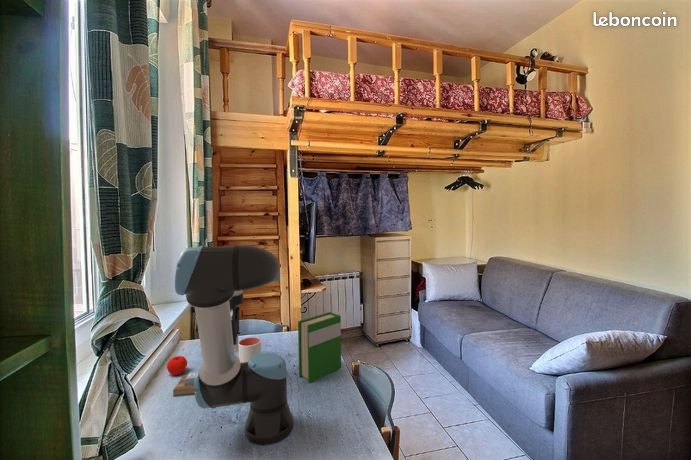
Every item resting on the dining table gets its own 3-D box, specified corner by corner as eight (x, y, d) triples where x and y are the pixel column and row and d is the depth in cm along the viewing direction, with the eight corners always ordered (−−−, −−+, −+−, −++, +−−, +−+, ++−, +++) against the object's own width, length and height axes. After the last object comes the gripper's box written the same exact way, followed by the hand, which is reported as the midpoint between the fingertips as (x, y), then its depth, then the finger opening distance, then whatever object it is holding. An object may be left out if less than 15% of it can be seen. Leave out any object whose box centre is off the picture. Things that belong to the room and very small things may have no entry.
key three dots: (199, 387, 123) (198, 377, 123) (185, 388, 123) (185, 378, 122) (203, 380, 128) (202, 370, 128) (190, 381, 128) (189, 371, 127)
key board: (249, 389, 123) (248, 383, 123) (173, 396, 119) (173, 390, 119) (253, 375, 134) (252, 369, 134) (183, 381, 130) (183, 375, 130)
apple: (181, 367, 142) (180, 351, 142) (191, 371, 138) (191, 355, 138) (163, 375, 135) (162, 358, 135) (173, 380, 131) (173, 362, 131)
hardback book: (309, 383, 127) (308, 325, 126) (299, 376, 133) (298, 321, 132) (341, 368, 140) (340, 315, 138) (330, 362, 145) (329, 311, 144)
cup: (264, 357, 151) (263, 337, 150) (256, 368, 141) (255, 346, 140) (244, 357, 152) (243, 337, 151) (235, 367, 142) (234, 345, 141)
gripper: (240, 297, 120) (241, 357, 121) (245, 290, 133) (247, 344, 134) (219, 298, 119) (221, 359, 120) (227, 290, 132) (228, 345, 133)
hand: (234, 351), depth 127 cm, fingers closed
